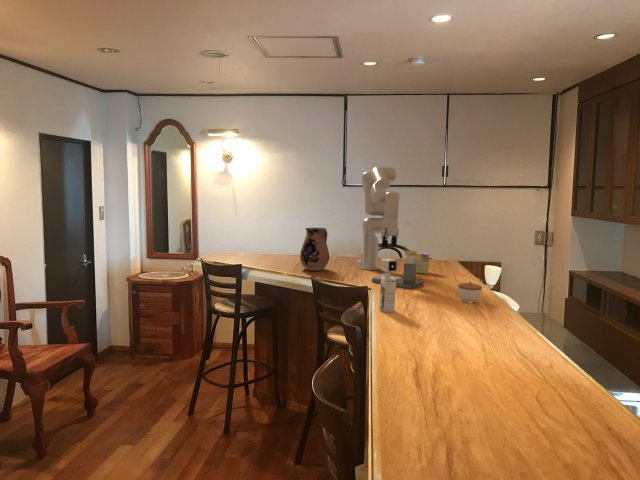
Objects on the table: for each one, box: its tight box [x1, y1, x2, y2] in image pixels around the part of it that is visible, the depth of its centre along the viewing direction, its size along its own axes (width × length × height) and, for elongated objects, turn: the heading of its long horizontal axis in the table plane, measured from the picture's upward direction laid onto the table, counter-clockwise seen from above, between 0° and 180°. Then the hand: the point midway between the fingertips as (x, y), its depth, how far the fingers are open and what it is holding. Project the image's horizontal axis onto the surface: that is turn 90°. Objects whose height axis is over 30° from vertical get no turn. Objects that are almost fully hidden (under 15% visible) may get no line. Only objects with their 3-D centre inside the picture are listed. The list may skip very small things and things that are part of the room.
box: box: [414, 252, 430, 274], centre depth 316 cm, size 10×6×12 cm, turn 84°
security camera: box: [380, 257, 398, 277], centre depth 284 cm, size 6×7×10 cm
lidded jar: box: [457, 281, 483, 303], centre depth 246 cm, size 11×11×9 cm
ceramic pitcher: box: [299, 227, 330, 272], centre depth 313 cm, size 18×21×25 cm
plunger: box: [404, 250, 418, 264], centre depth 275 cm, size 6×6×12 cm
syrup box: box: [378, 276, 397, 313], centre depth 224 cm, size 6×6×14 cm
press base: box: [371, 262, 424, 290], centre depth 280 cm, size 24×14×12 cm, turn 53°
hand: (389, 246), depth 283 cm, fingers open, 9 cm apart
